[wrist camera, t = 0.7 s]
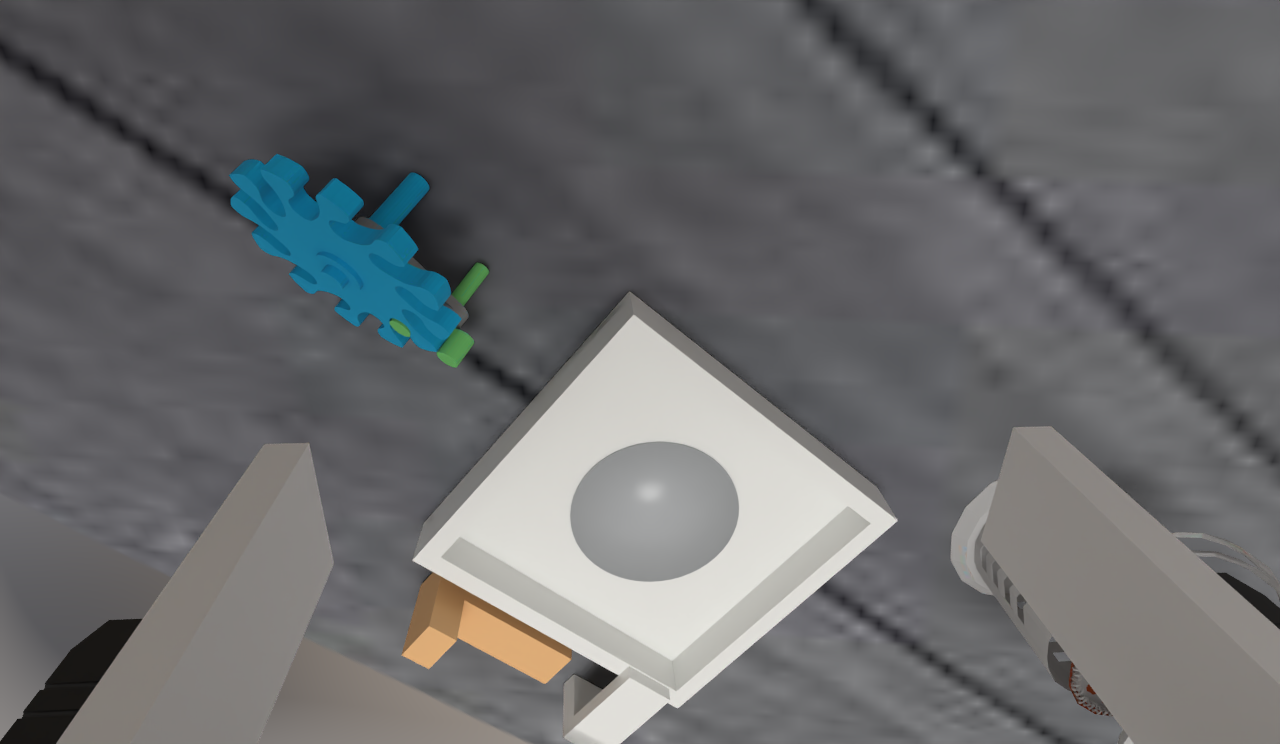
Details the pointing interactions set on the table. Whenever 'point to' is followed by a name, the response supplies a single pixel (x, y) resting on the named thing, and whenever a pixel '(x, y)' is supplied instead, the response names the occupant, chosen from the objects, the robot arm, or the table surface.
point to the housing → (649, 519)
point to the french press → (992, 580)
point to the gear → (357, 254)
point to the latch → (477, 631)
